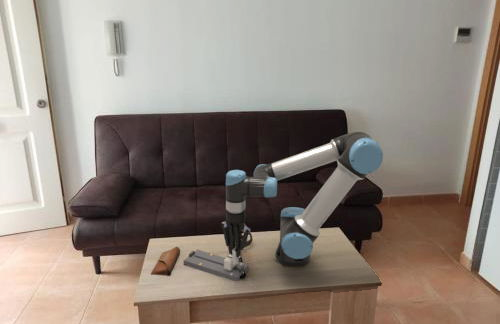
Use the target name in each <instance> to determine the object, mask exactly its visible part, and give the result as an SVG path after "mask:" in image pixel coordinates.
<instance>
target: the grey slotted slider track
mask: <svg viewBox="0 0 500 324" xmlns="http://www.w3.org/2000/svg"><path fill="white" fill-rule="evenodd" d="M226 258H227V257H224V256H220V255H217V254H214V253H210V252H207V251H203V250H200V249H196V250H192V251H190V253H188V256H187V257H186V258H185V259H183V265H185V266H188V267H190V268H193V269H198V270H199V271H203V272H206V273H209V274H212V275H215V276H218V277H221V278H224V279H227V280H230V281H233V282H236V283H237V282H238V281H239V280H240V279H241V278H240V276H241V274H242V273H243V272H244V271H245V273H247V272H248V270H249V269H250V268H249V267H250V266H249V264H246V263H244V262H241V261H239V262H238V264H237V265H236V266H235V267H234V268H233V269H232V270H231V271H229V270H226V269H224V260H225V259H226Z"/></svg>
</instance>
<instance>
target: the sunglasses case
mask: <svg viewBox="0 0 500 324" xmlns="http://www.w3.org/2000/svg"><path fill="white" fill-rule="evenodd" d="M180 253H181V249H180V247H178V246H175V247H172V248H171V249H170V250H166V251H163V252H162V253H161V255H160V257H159V258H158V260H157V262H156V264H155V265H154V267H153V268H152V270H151V272H150V275H151V276H155V275H156V276H170V275H171V273H172V272H173V269H174V267H175V264H176V262H177V259H178V257H179V255H180Z"/></svg>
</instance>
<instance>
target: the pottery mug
mask: <svg viewBox="0 0 500 324" xmlns="http://www.w3.org/2000/svg"><path fill="white" fill-rule="evenodd" d="M243 234H244V229H243V230H242V233H241V241H242V237H243ZM248 236H249V240H247V242H246V245H245V248H247V247H249V246H250V245H251V244H252V242H253V235H252V233H251V231H250V232H249V234H248Z"/></svg>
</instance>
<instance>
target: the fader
mask: <svg viewBox="0 0 500 324" xmlns="http://www.w3.org/2000/svg"><path fill="white" fill-rule="evenodd" d="M225 258H226V259H225V260H224V269H226V270H229V271H231V270H232V269H233V268H234V267H235V266H236V265H237V264H238V263H237V264H236V265H234V264H232V255H231V253H230V254H228V255H227V257H225Z"/></svg>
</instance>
